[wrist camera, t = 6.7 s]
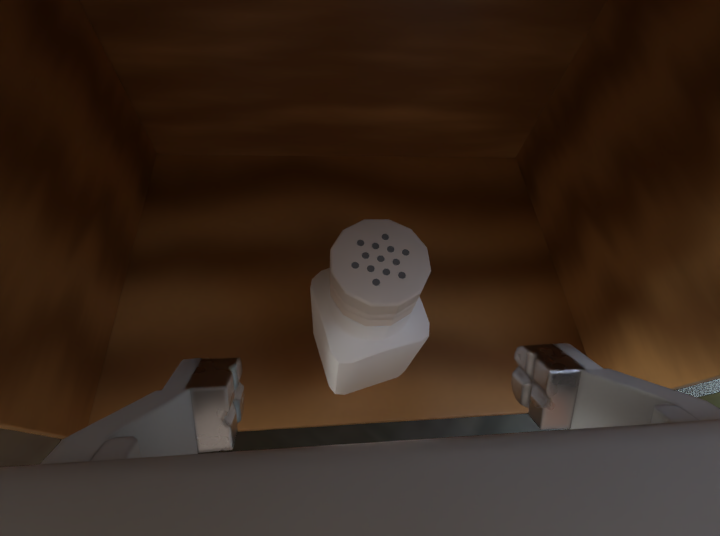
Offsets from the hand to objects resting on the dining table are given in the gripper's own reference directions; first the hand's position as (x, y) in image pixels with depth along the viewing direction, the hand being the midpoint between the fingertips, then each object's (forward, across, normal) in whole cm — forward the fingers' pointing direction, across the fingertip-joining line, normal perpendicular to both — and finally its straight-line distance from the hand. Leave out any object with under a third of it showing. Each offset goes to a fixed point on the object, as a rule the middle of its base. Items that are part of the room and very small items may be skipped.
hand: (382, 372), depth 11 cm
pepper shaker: (+8, 0, +4) cm, 9 cm away
